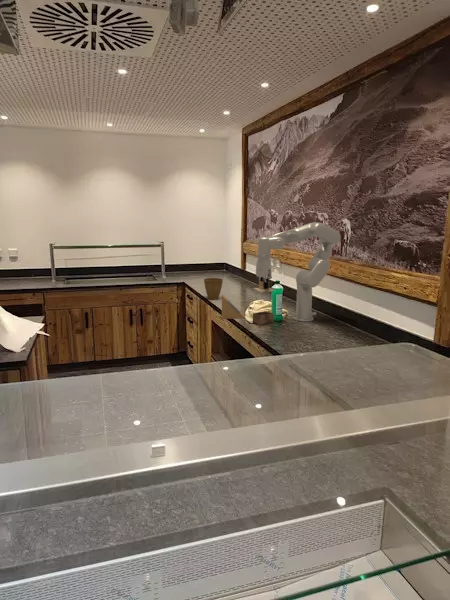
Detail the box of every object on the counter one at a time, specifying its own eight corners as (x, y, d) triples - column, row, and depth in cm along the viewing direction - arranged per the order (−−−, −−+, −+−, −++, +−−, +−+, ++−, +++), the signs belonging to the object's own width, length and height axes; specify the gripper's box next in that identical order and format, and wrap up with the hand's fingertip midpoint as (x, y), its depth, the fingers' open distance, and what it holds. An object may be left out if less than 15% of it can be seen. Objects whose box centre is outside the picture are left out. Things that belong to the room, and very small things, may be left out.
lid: (265, 289, 263) (266, 279, 261) (275, 291, 256) (275, 281, 254) (252, 291, 257) (252, 281, 256) (261, 293, 250) (261, 283, 249)
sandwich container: (245, 318, 271) (246, 295, 268) (222, 319, 270) (222, 296, 267) (244, 315, 280) (244, 293, 277) (221, 315, 279) (221, 293, 276)
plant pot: (201, 300, 329) (200, 280, 326) (208, 296, 343) (208, 277, 340) (218, 301, 324) (218, 281, 321) (225, 298, 338) (225, 278, 334)
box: (264, 320, 266) (265, 311, 265) (273, 323, 260) (273, 313, 258) (252, 322, 261) (252, 313, 259) (260, 325, 254) (260, 315, 253)
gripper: (250, 257, 257) (250, 286, 260) (268, 259, 243) (268, 290, 247) (260, 256, 261) (260, 285, 265) (278, 258, 247) (277, 289, 251)
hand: (263, 287), depth 256 cm, fingers closed on lid, 3 cm apart
